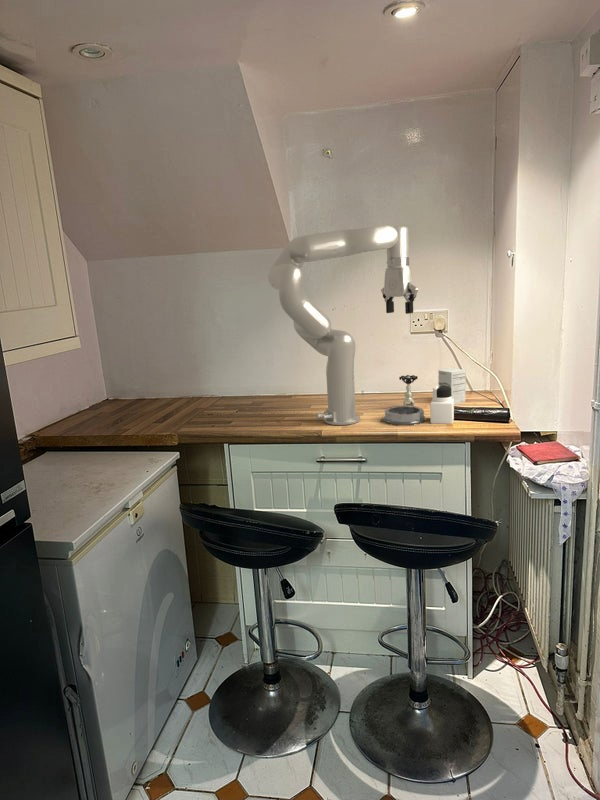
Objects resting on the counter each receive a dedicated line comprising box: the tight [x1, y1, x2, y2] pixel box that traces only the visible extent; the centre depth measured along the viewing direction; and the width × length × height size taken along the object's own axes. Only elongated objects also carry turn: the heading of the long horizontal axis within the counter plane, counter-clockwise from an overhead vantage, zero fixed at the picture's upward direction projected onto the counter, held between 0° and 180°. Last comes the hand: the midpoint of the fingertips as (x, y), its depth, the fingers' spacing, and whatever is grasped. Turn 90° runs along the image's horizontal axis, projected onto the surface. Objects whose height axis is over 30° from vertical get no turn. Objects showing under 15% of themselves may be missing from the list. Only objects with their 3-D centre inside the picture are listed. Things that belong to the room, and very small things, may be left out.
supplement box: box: [438, 367, 467, 406], centre depth 218 cm, size 7×7×13 cm
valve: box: [399, 374, 418, 407], centre depth 213 cm, size 7×7×12 cm
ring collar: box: [383, 405, 426, 426], centre depth 197 cm, size 14×14×4 cm
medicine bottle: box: [429, 385, 455, 425], centre depth 192 cm, size 7×7×12 cm
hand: (399, 313), depth 203 cm, fingers open, 9 cm apart
